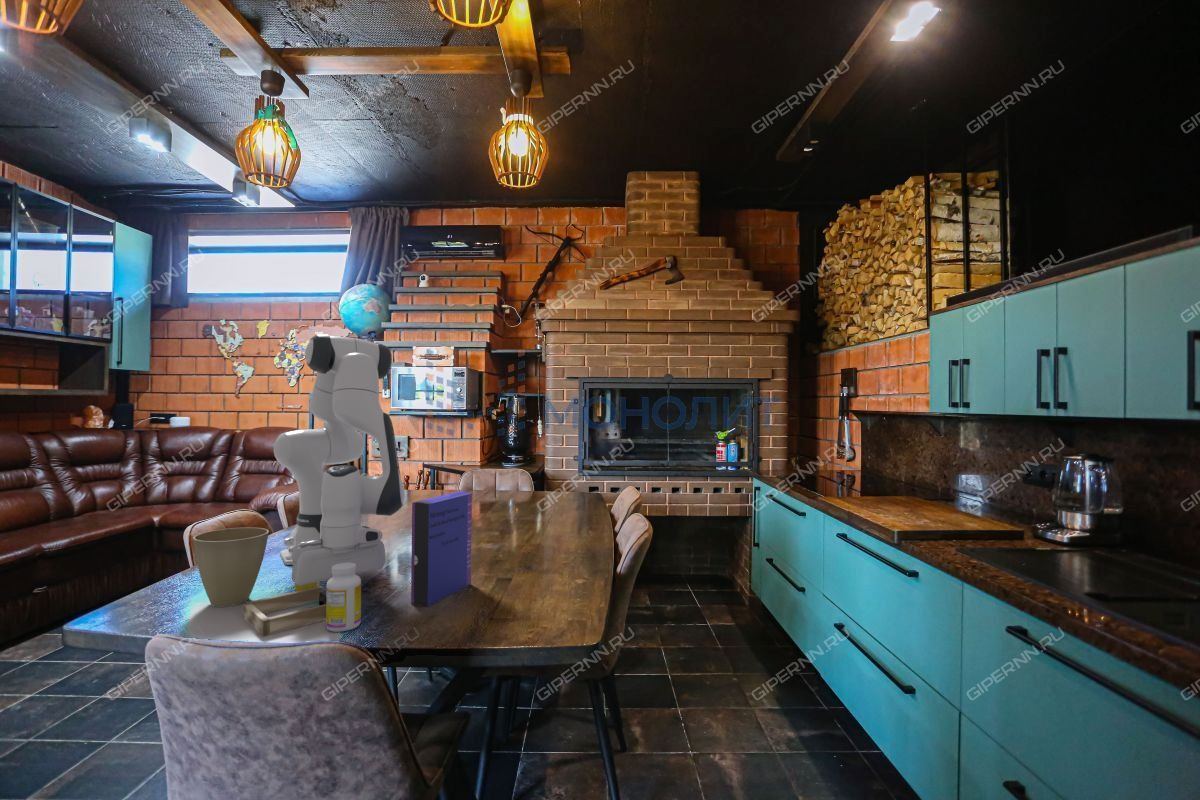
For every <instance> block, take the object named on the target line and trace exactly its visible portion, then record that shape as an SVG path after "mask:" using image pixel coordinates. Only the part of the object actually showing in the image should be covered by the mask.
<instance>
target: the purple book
mask: <svg viewBox="0 0 1200 800" xmlns="http://www.w3.org/2000/svg"><path fill="white" fill-rule="evenodd" d="M472 511H473V493H472V492H468V491H455V492H450V493H446V494H443V495H439V496H438V495H437V496H433V497H430V498H426V499H421V500H418V501H413V502H411V569H410V570H411V571H410V572H411V575H410V578H411V580H410V582H411V583H410V605H413V606H420V607H426V608H428V607H430V606H432V605H435V604H436V603H438V602H440V601H442V600H443V599H446V598H448V597H450V596H451V595H453V594H455V593H457V592H459V591H461V590H463V589H465V588H467V587H469V586H471V585H472V539H473V538H472V528H473V527H472V523H473V522H472V520H473V519H472V518H473V514H472V513H473V512H472Z"/></svg>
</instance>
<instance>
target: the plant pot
mask: <svg viewBox="0 0 1200 800" xmlns="http://www.w3.org/2000/svg"><path fill="white" fill-rule="evenodd" d="M269 532H270V531H269V529H266V528H262V527H248V526H247V527H230V528H222V529H215V530H209V531H205V532H202V533H201V532H200V533H198V534H196V535H194V536H193V537H192V539H193V541H192V542H193V548H194V553H195V560H196V564H197V569H198V572H199V576H200V579H201V583H202V585H203V588H204V591H205V594H206V596H207V599H208V600H209V603H210V604H211V606H213V607H217V608H219V607H221V608H222V607H224V608H225V607H231V606H232V607H233V606H236V605H237V606H238V605H240V604H243V603H246V602H248V601H249V598H250V596H251V594H252V591H253V589H254V587H255V585H256V582H257V579H258V576H259V573H260V570H261V567H262V564H263V561H264V557H265V553H266V547H267V543H268V538H269Z"/></svg>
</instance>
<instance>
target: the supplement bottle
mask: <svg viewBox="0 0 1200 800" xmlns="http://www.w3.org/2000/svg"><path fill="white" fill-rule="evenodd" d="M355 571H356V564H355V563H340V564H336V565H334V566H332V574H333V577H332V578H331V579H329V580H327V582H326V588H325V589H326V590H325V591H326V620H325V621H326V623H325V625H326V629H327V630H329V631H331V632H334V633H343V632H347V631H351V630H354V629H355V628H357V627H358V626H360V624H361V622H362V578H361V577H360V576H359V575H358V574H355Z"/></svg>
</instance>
